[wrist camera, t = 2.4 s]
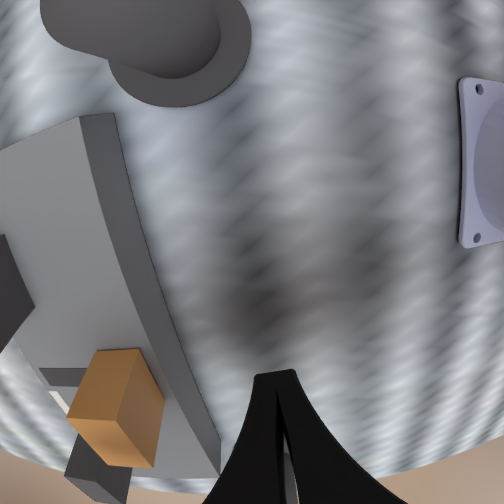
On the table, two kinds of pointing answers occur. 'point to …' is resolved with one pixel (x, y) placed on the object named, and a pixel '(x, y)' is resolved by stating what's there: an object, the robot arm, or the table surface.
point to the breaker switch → (119, 409)
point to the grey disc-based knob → (158, 43)
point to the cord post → (289, 477)
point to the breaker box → (92, 293)
